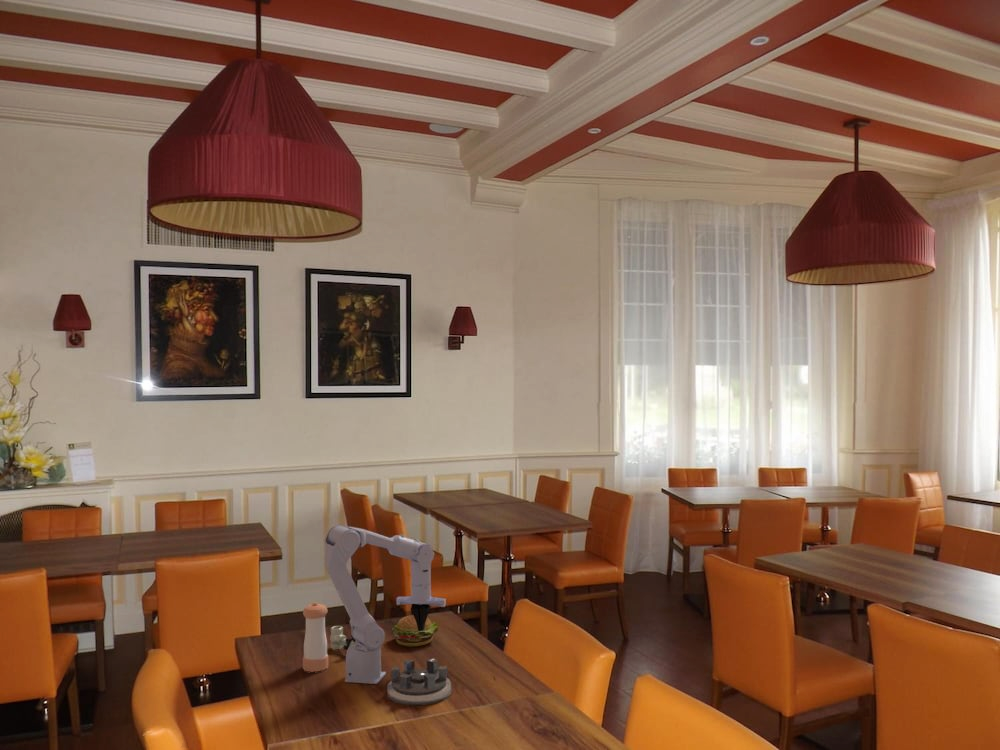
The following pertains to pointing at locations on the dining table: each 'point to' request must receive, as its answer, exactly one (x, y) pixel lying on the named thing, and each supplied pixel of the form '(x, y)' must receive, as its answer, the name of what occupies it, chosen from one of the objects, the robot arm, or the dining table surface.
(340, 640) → the valve
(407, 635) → the food
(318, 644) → the salt shaker
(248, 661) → the dining table surface
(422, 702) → the cap base
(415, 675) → the finned metal hub
